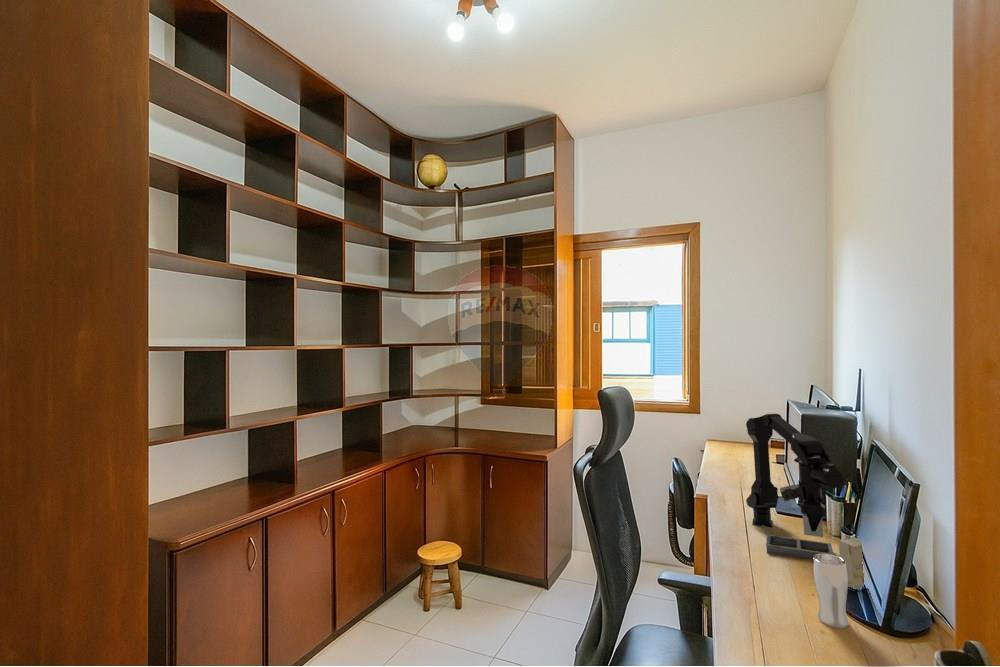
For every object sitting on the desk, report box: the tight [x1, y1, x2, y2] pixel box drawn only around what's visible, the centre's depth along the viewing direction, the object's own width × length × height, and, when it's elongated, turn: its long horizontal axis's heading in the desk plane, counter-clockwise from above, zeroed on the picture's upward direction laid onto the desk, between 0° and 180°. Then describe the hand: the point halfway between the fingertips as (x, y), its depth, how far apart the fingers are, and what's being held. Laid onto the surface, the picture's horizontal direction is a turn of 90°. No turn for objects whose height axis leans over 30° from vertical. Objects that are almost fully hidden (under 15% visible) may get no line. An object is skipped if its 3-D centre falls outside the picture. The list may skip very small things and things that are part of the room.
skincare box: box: [838, 537, 864, 589], centre depth 132 cm, size 6×4×12 cm
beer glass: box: [812, 552, 850, 629], centre depth 117 cm, size 7×7×15 cm
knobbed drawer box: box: [802, 513, 824, 538], centre depth 152 cm, size 5×5×7 cm
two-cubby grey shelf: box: [765, 533, 834, 561], centre depth 154 cm, size 10×18×2 cm, turn 59°
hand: (812, 528), depth 152 cm, fingers closed on knobbed drawer box, 5 cm apart
